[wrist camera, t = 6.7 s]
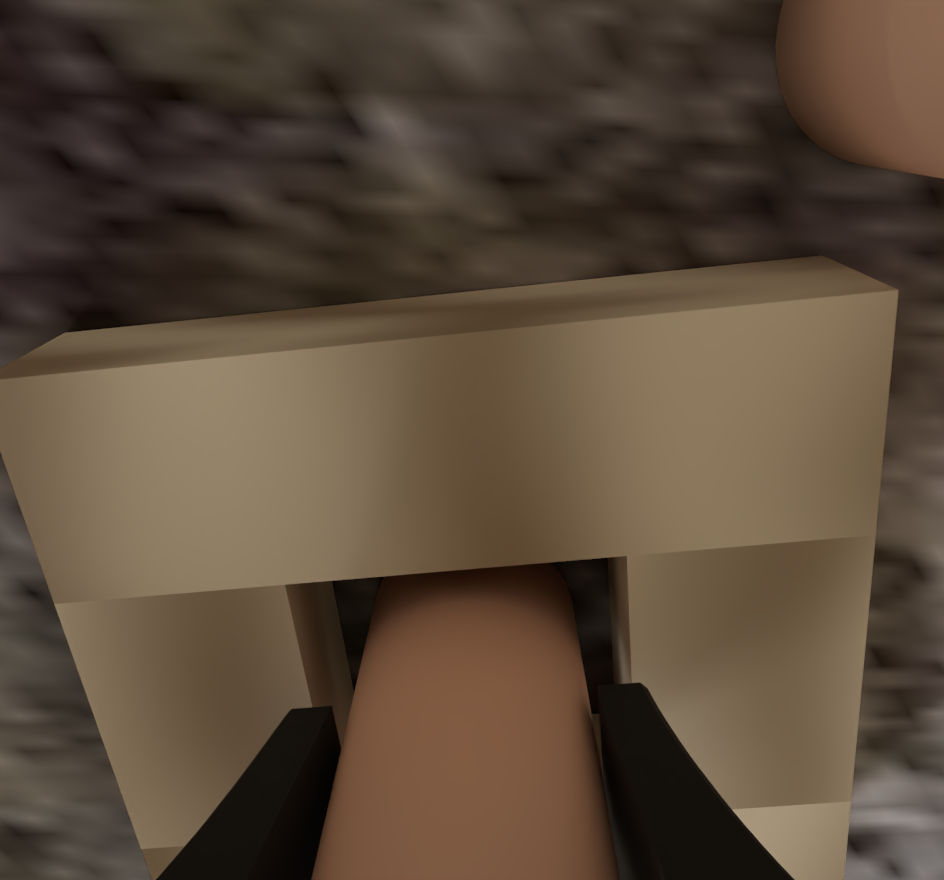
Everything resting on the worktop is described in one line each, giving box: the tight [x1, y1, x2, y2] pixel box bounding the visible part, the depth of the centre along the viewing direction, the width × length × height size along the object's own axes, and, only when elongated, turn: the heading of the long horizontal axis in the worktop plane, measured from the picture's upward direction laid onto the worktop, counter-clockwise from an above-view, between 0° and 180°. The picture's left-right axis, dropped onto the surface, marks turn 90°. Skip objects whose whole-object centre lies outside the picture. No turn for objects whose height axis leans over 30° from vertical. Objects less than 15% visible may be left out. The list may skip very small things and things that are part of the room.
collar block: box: [0, 255, 899, 880], centre depth 14 cm, size 12×12×2 cm
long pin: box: [311, 562, 620, 880], centre depth 12 cm, size 4×4×7 cm
